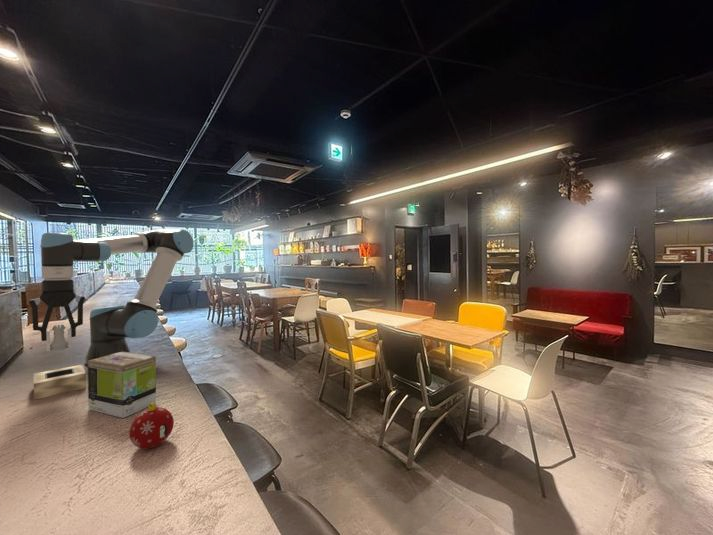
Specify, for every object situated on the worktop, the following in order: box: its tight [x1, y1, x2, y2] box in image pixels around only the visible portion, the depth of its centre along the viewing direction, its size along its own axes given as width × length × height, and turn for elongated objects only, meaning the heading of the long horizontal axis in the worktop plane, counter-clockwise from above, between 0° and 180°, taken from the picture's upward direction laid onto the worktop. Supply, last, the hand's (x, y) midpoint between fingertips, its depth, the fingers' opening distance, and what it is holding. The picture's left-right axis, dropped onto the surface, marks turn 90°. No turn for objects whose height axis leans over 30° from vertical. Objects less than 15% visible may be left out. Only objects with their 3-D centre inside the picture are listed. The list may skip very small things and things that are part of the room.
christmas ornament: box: [128, 403, 175, 450], centre depth 70 cm, size 9×9×10 cm
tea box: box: [87, 351, 157, 419], centre depth 88 cm, size 15×10×15 cm
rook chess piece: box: [50, 324, 69, 352], centre depth 100 cm, size 4×4×8 cm
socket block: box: [33, 364, 87, 400], centre depth 100 cm, size 12×12×5 cm
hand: (59, 348), depth 100 cm, fingers closed on rook chess piece, 4 cm apart
